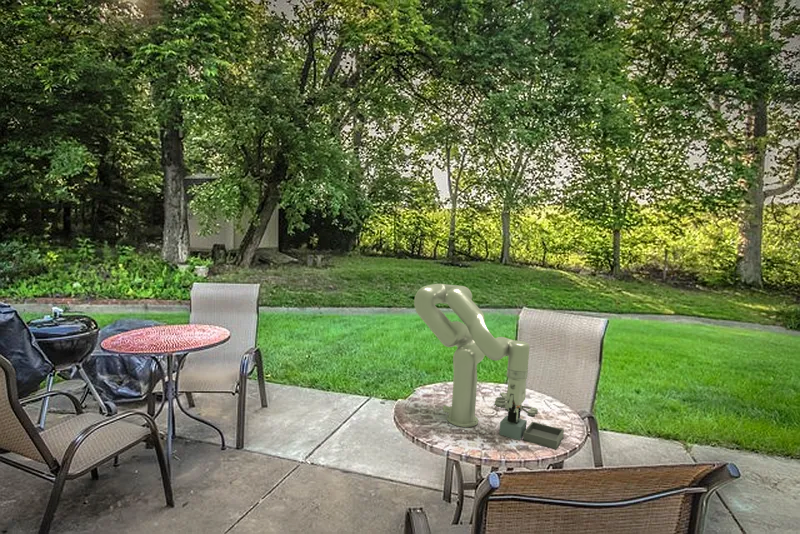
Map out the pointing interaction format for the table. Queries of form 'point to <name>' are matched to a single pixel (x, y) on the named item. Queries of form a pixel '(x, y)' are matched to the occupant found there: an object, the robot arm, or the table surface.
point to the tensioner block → (512, 428)
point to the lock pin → (517, 413)
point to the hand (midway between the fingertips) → (513, 419)
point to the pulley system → (503, 404)
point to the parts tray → (543, 435)
